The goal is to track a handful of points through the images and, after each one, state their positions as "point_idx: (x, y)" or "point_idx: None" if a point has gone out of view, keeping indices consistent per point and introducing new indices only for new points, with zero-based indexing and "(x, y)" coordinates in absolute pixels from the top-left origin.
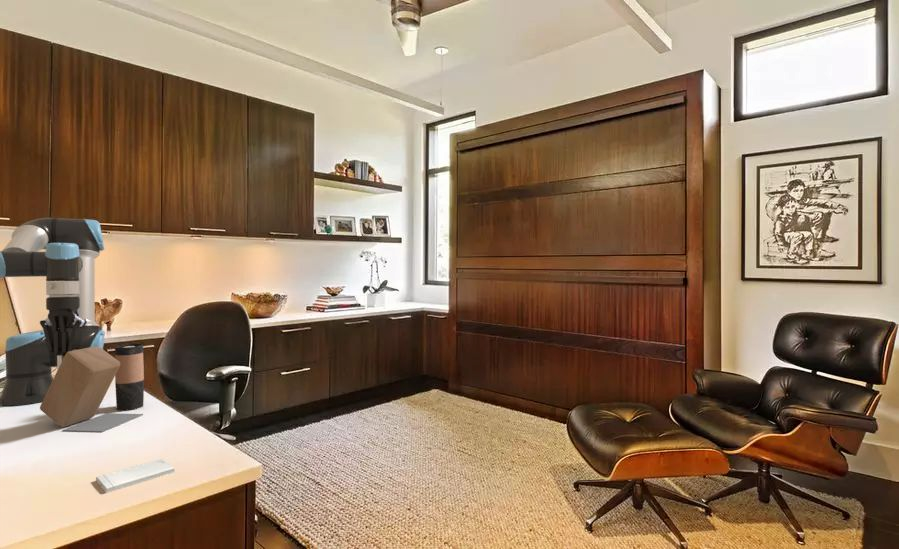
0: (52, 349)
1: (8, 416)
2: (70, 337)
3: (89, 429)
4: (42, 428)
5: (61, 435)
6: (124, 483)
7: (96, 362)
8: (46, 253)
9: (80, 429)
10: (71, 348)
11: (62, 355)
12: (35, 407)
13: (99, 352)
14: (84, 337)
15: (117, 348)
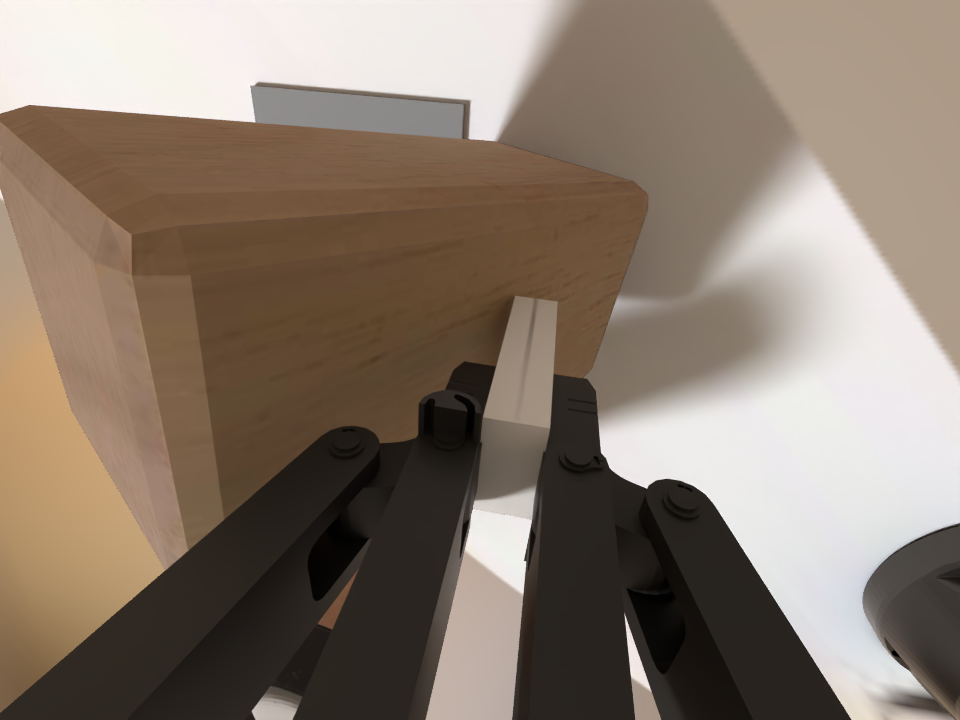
0: (651, 524)
1: (944, 363)
2: (189, 657)
3: (332, 112)
4: (606, 154)
5: (413, 32)
6: None
7: (35, 268)
8: None
9: (376, 114)
10: (295, 466)
11: (441, 392)
12: (879, 483)
13: (119, 469)
14: None
15: (298, 685)
